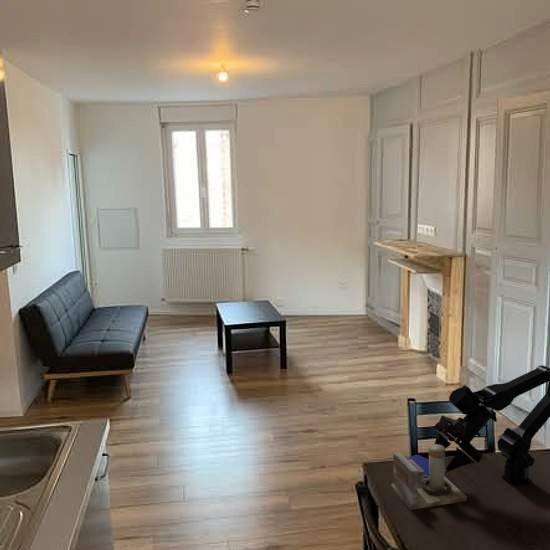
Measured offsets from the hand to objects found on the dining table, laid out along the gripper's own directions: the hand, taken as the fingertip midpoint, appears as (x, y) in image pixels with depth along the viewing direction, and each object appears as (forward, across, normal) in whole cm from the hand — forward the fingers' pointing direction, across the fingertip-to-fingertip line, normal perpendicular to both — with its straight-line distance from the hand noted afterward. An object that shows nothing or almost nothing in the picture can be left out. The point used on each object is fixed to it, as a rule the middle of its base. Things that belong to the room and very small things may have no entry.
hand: (438, 463), depth 168 cm
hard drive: (+5, -16, +9) cm, 19 cm away
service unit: (+9, 0, +4) cm, 10 cm away
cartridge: (+6, 0, +5) cm, 8 cm away
